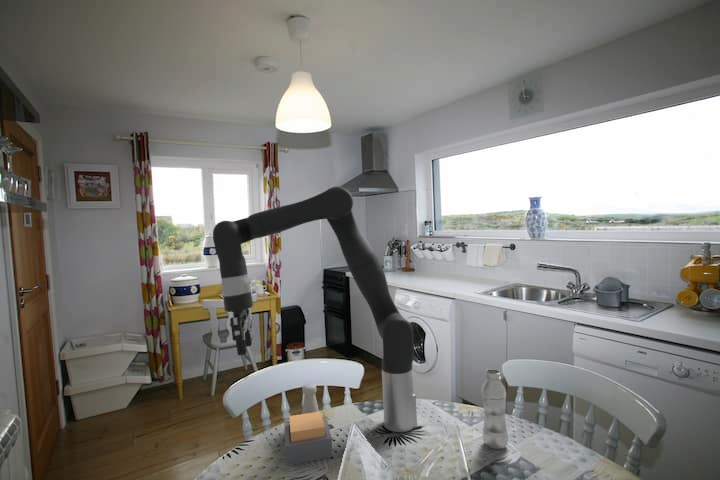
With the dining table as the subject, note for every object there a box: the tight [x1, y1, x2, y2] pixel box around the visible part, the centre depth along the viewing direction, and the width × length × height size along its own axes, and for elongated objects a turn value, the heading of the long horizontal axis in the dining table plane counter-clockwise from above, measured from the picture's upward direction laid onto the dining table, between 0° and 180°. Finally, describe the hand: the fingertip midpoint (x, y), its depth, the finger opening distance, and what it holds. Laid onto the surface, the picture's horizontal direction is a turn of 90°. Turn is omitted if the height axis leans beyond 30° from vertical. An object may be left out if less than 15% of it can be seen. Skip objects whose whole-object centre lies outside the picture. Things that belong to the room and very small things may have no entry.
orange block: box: [289, 410, 325, 443], centre depth 102 cm, size 9×9×4 cm
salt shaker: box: [301, 382, 320, 414], centre depth 113 cm, size 6×6×13 cm
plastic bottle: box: [480, 368, 509, 450], centre depth 99 cm, size 6×7×20 cm
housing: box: [283, 416, 333, 466], centre depth 102 cm, size 12×12×5 cm
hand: (245, 350), depth 103 cm, fingers open, 8 cm apart
